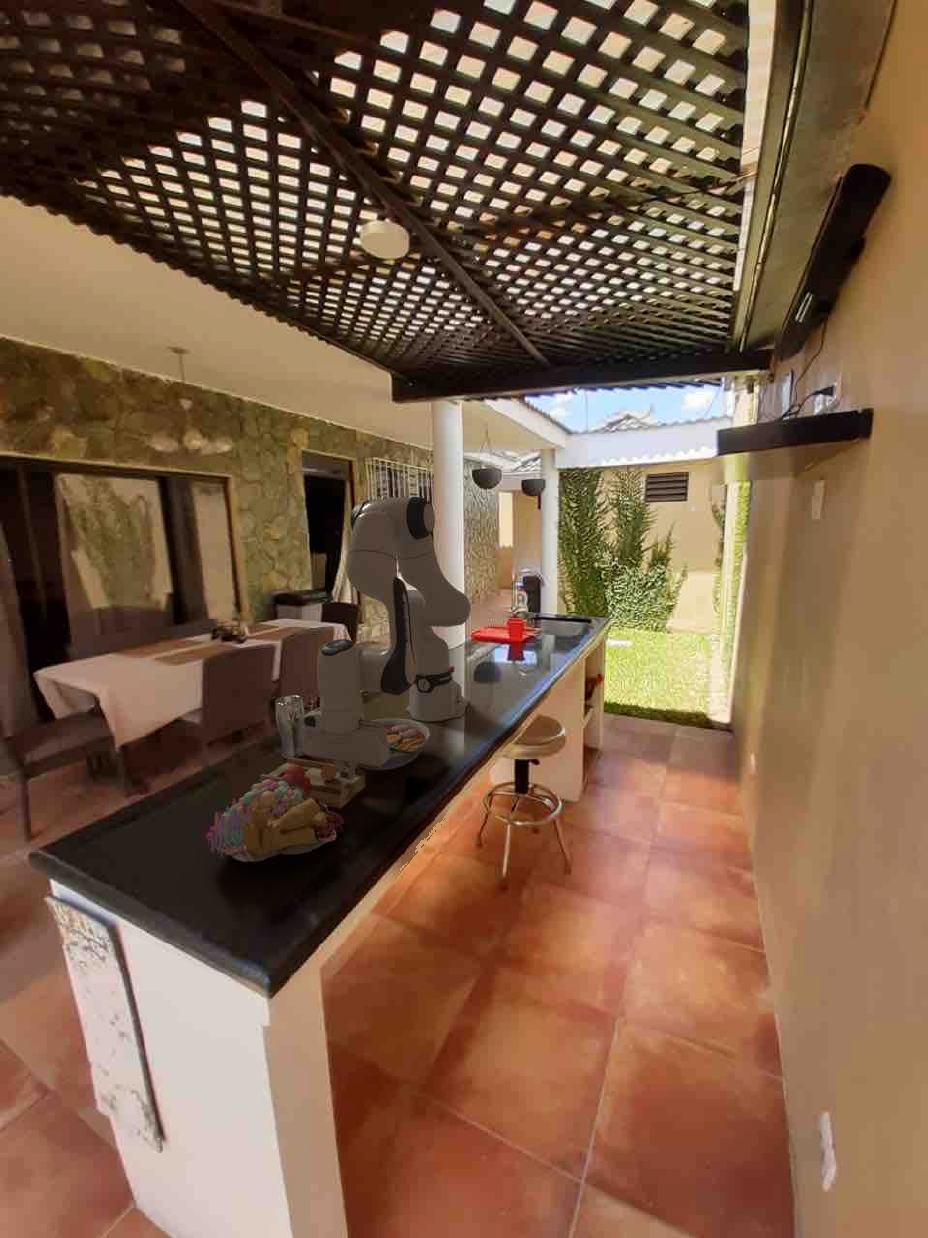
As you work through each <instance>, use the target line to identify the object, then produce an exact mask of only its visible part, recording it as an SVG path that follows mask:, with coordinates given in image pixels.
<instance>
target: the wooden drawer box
mask: <svg viewBox="0 0 928 1238" xmlns="http://www.w3.org/2000/svg"><path fill="white" fill-rule="evenodd" d="M295 764H297V765H300V766H302V767H303V768H304V770H305V776H307V777H309V778H310V781H311V782H310V785H309V788H310V789H311V794H310V796H311V798H316V799H319V800H320V801H321V802H324V804H325V805H327V806H328V807H330V808H335V809H340V810H341V809H342V808H343V807H344V806H345V805H346V804H348V802H350V801H351V799H353V798H354V797H355V796H356V795H358V793H360V792H361V791H362V790H363V789H364V788H365V787H366V778H365V776H366V775H365V769H361V768H356V769H355V777H354V778H353V779H352V780H349V779H343V778H339V771H338V770H337V774H336V777H335V778H334V779H333V780H331V781H325V780H324V779H322V777H321V774H320V772H321V769H322V768H323V767H324V766H325V765H327V764H329V762H328V763H327V762H322V761H321V762H320V761H315V760H311V759H304V758H294V757H288V758H287V759H286V762H285V763H284V764H282V765H280V766H279V767H278V768H276V769H274V770H273V771H271V772H270V773H268V774H266V773H261V774H259V779H260V780H259V781H260V782H259V783H262V782H263V781H264V780H266V779H271V780H273V781H274V782H280V781H281V778H282V777H283V776H284V775H285V771H286V770H287V768H288V767H290V766H291V765H295ZM330 764H331V765H334V763H333V764H332V763H330ZM334 766H335V765H334ZM346 768H350V766H346ZM336 769H337V768H336ZM290 788H291V790H295V789H298V790H299V791H300V792H302V794H303V796H306V797H308V798H309V795H306V794H304V789H300V788H299V787H298V786H297V785H292V786H291V787H290Z"/></svg>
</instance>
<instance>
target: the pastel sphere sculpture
mask: <svg viewBox="0 0 928 1238" xmlns="http://www.w3.org/2000/svg"><path fill="white" fill-rule="evenodd" d="M310 782H311V781H310V778H309V777H307V776H305V770H304V768H303V767H302V766H300V765H297V764H295V765H291V766H290V767H288V768H287V770H286V771H285V775H284V776H283V777H282V778H281V781H280V782H274V781H273V780H271V779H266V780H264V781H263V782H262V783H261V782H259V783H254V784H252V786H251V788H250V789H251V791H248V792H245V794H244V795H243V796H242V797H240V798H239V799H238V802H237V801H236V800H237V799H236V800H235V798H233V801H232V802H231V805H232V806H230V808H229V806H228V805H227V806H226V807H225V811H223V813H222V811H219V813H218V811H217V812H215V815H214V826H211V827H209V832H208V833H207V834H206V836H205V839H206V840H207V841H208V846H210V853H211V852H212V853H213V854H214V853H215V850H216V851H217V854H220V858H222V857H223V854H225V855H228V856H231V857H232V858H233V859H235V860H238V861H241V862H244V863H246V862H252V863H253V862H254V863H256V862H257V863H258V862H262V861H264V860H266V859H267V858H273V857H274V856H277V855H279V854H281V855H282V854H284V855H299V854H301V855H302V854H305V853H309V852H311V851H313V850H316V849H319V848H320V847H322V846H323V845H325V844H326V843H329V842H332V841H336V840H337V836H338V834H337V833H345V831H344V829H343V826H342V825H345V826H346V823H345V819H344V816H343V815H341V814H339V813H336V812H335V811H332V810H328V807H329V806H327V805H325V804H324V802H321V801H320V800H319V799H316V798H311V796H310V794H311V789H310V788H309V785H310ZM292 785H297V786H298V787H299V788H300V789H304V794H306V795H309V798H308V797H306V796H303V794H302V792H300V791H299V790H298V789H295V790H291V788H290V787H291V786H292Z"/></svg>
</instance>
